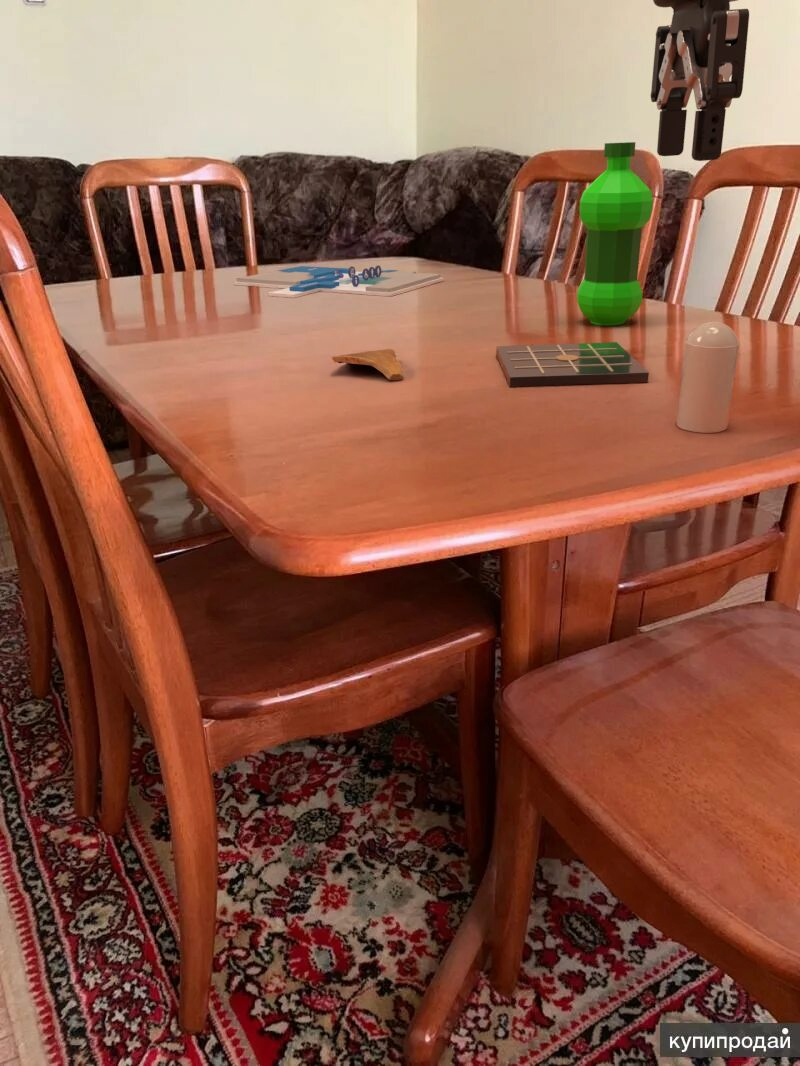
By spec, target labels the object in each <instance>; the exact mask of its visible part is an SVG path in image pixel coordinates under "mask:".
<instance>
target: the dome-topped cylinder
mask: <svg viewBox="0 0 800 1066" xmlns="http://www.w3.org/2000/svg"><path fill="white" fill-rule="evenodd" d="M684 342H685V343H684V349H683V358H682V367H681V376H680V385H679V393H678V403H677V414H676V420H675V421H676V422H675V425H676V426H677V427H678V428H680V429H682V430H683V431H687V432H692V433H701V434H712V433H713V434H715V433H721V432H724V431H726V430H727V429H728V427H729V420H730V412H731V406H732V398H733V393H734V392H733V391H734V385H735V377H736V370H737V363H738V356H739V349H740V342H739V338H738V336H737V334H736V332H735V331H734V330H733V329H732V328H731V327H730V326H729V325H727V324H725V323H723V322H720V321H709V322H705V323H702V324H700V325H698V326H697V327H695V328H694V329H692V331H691V332H690V333H689V335H688V336H687V337H686V339H685V341H684Z"/></svg>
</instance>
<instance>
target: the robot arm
mask: <svg viewBox="0 0 800 1066" xmlns="http://www.w3.org/2000/svg"><path fill="white" fill-rule="evenodd" d="M652 1H653V4H654V5H655V6H656V7H657V8H672V12H673V14H672V17H671V23H670V24H668V25H659V26H658V27H657V29H656V31H655V44H654V54H653V55H654V56H653V65H652V66H653V67H652V79H651V90H650V100H651V103H656V109H657V110H659V121H658V133H657V147H656V152H657V155H658V156H659V157H674V156H680V155H682V154H683V152H684V148H685V138H686V137H685V136H686V124H687V116H688V115H687V113H688V109H686V108H687V106H688V103H689V101H690V98H691V94H692V92H693V94H694V95H693V96H694V102H695V107H696V110H695V114H694V125H693V136H692V146H691V158H692V159H693V160H694V161H698V162H704V161H715V160H719V158H720V157H721V155H722V149H723V139H724V138H723V137H724V130H725V121H726V111H727V108H729V107H730V106H731V105H732V101H733V100H732V99H739V98H740V97H741V96H742V94H743V88H744V77H745V68H746V67H745V66H746V56H747V46H748V45H747V44H748V35H749V22H750V10H749V8H738V9H737V8H736V9H730V8H731V5H730V4H731V3H732V2H736V1H738V0H652ZM730 78H731V79H730Z"/></svg>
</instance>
